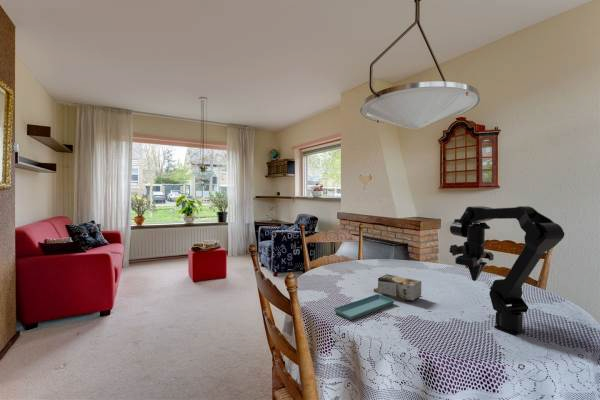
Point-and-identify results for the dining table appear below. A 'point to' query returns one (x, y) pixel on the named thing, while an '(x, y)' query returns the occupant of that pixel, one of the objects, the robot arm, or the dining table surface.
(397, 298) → the walnut board
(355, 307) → the rectangular tray
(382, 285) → the coffee box
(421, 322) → the dining table surface
